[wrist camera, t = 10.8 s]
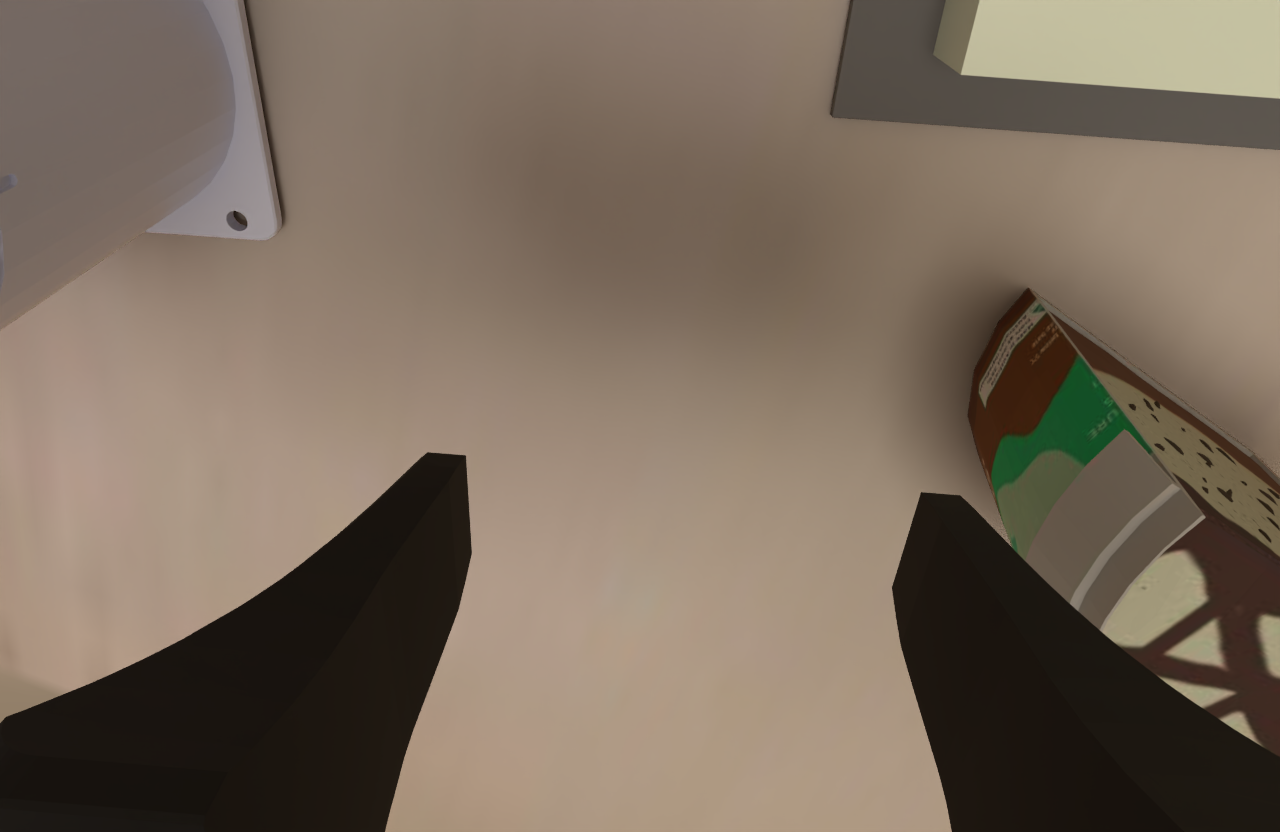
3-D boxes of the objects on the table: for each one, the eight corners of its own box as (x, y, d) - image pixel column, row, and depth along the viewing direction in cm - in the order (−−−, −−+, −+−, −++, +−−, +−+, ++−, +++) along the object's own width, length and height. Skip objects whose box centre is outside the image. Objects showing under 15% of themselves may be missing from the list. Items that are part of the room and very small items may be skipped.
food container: (831, 420, 25) (910, 704, 16) (987, 257, 22) (1181, 500, 13) (1117, 597, 28) (1304, 907, 20) (1285, 475, 25) (1589, 779, 17)
